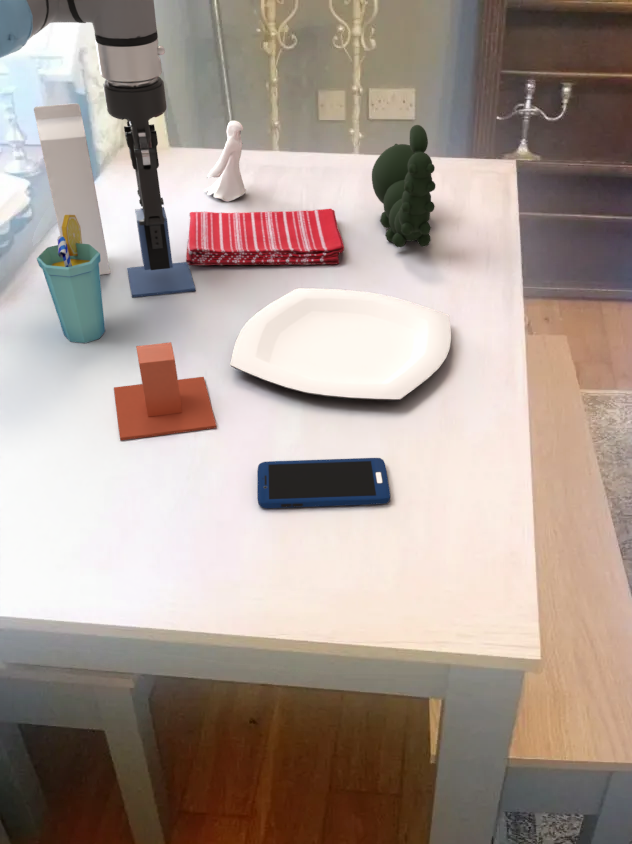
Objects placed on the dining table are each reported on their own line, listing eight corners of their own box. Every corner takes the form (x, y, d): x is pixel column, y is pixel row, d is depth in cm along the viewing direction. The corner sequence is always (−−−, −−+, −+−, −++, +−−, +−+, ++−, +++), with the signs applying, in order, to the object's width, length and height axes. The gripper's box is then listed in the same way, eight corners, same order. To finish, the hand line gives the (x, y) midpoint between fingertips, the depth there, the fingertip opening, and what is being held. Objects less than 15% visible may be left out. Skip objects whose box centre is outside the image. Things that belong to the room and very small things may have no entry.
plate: (413, 428, 104) (414, 413, 103) (203, 384, 110) (201, 369, 109) (470, 322, 122) (472, 309, 120) (287, 290, 128) (286, 277, 127)
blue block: (144, 270, 127) (137, 220, 122) (142, 258, 130) (134, 209, 125) (172, 267, 128) (166, 218, 123) (169, 255, 130) (163, 206, 125)
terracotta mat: (120, 440, 102) (119, 437, 102) (114, 390, 109) (113, 387, 109) (216, 428, 104) (216, 425, 103) (204, 379, 111) (203, 376, 111)
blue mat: (132, 297, 127) (131, 295, 126) (127, 270, 133) (126, 267, 133) (195, 291, 128) (195, 288, 128) (188, 264, 134) (187, 261, 134)
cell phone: (391, 504, 94) (391, 498, 93) (257, 509, 93) (257, 503, 92) (384, 462, 99) (384, 456, 98) (257, 466, 98) (257, 461, 98)
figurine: (239, 206, 150) (234, 129, 142) (195, 200, 152) (187, 124, 143) (254, 189, 155) (250, 114, 147) (212, 184, 157) (205, 109, 148)
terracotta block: (147, 417, 105) (138, 363, 100) (144, 399, 107) (136, 345, 102) (182, 412, 105) (174, 359, 100) (178, 395, 108) (171, 341, 103)
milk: (110, 274, 132) (82, 110, 116) (68, 279, 131) (34, 114, 115) (106, 256, 136) (78, 96, 120) (65, 261, 135) (32, 99, 119)
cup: (116, 360, 114) (94, 244, 104) (53, 366, 113) (25, 249, 103) (112, 309, 124) (92, 198, 114) (55, 314, 123) (29, 202, 112)
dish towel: (345, 265, 134) (345, 248, 132) (185, 267, 133) (184, 250, 131) (336, 220, 146) (336, 203, 144) (190, 221, 145) (188, 204, 143)
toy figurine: (443, 271, 137) (420, 194, 153) (458, 143, 122) (430, 72, 138) (382, 273, 136) (365, 195, 152) (390, 144, 122) (369, 73, 138)
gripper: (170, 96, 107) (192, 284, 123) (156, 58, 119) (178, 234, 135) (106, 100, 105) (136, 290, 122) (98, 61, 117) (127, 239, 134)
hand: (158, 260), depth 128 cm, fingers closed on blue block, 4 cm apart
